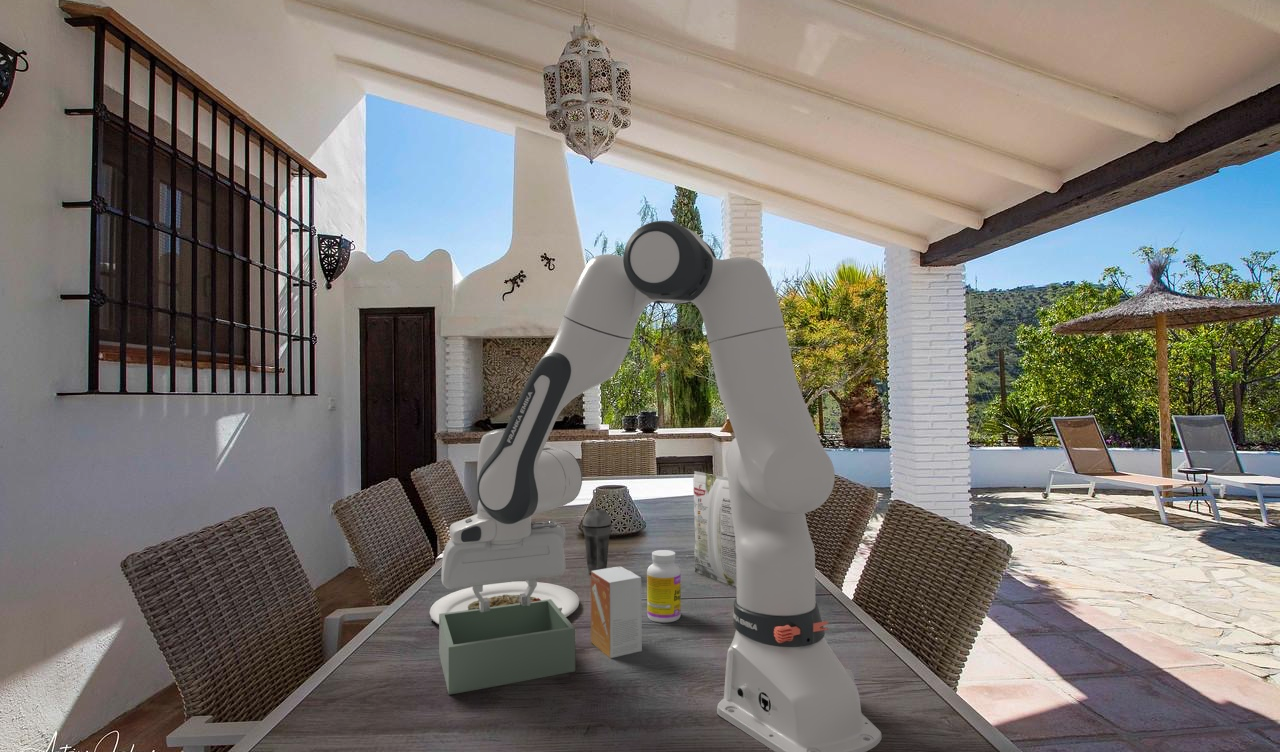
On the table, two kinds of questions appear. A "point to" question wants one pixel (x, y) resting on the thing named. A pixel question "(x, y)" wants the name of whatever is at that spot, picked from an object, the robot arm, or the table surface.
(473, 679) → the tote
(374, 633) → the table surface
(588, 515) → the beverage cup
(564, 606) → the plated food
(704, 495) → the frozen beans
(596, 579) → the small box
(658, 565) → the supplement bottle
